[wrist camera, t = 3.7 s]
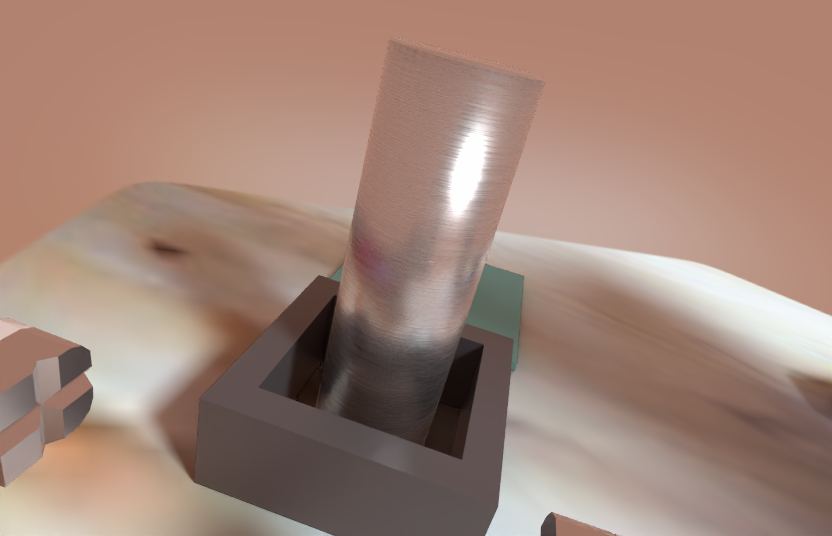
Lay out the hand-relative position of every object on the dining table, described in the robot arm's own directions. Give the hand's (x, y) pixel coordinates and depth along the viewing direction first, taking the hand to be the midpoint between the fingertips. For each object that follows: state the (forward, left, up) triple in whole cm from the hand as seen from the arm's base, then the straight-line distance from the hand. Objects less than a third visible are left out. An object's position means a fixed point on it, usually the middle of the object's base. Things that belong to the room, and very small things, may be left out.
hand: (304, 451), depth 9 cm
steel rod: (0, -9, -8) cm, 12 cm away
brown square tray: (0, -9, -8) cm, 12 cm away
